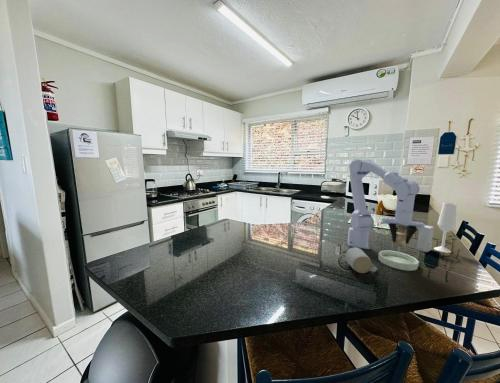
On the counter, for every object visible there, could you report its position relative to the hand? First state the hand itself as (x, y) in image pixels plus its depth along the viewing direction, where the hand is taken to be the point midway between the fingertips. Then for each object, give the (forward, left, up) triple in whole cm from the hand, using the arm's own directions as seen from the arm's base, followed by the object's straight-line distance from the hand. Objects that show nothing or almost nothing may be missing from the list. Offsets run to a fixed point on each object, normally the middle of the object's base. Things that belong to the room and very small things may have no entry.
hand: (399, 242), depth 90 cm
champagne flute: (+26, +28, -9) cm, 39 cm away
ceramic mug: (-15, -13, -10) cm, 23 cm away
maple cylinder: (0, 0, -1) cm, 1 cm away
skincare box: (+17, +24, -9) cm, 31 cm away
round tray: (0, 0, -9) cm, 9 cm away
